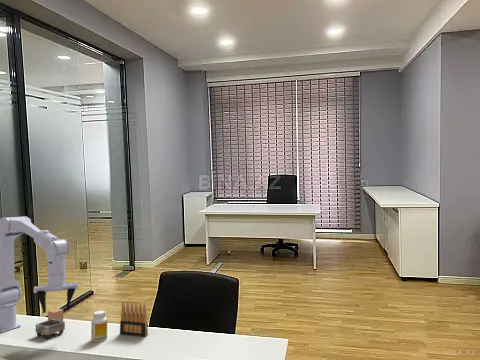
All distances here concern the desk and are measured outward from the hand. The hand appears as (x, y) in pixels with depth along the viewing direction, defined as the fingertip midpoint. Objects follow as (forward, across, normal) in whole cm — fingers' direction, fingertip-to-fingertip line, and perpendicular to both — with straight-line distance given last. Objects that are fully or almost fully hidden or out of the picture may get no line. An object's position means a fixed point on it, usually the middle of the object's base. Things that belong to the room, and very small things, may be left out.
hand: (56, 310), depth 137 cm
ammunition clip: (+10, +27, -5) cm, 29 cm away
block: (+10, -2, +16) cm, 19 cm away
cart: (+10, -2, +6) cm, 12 cm away
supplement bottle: (+10, +15, -5) cm, 19 cm away
